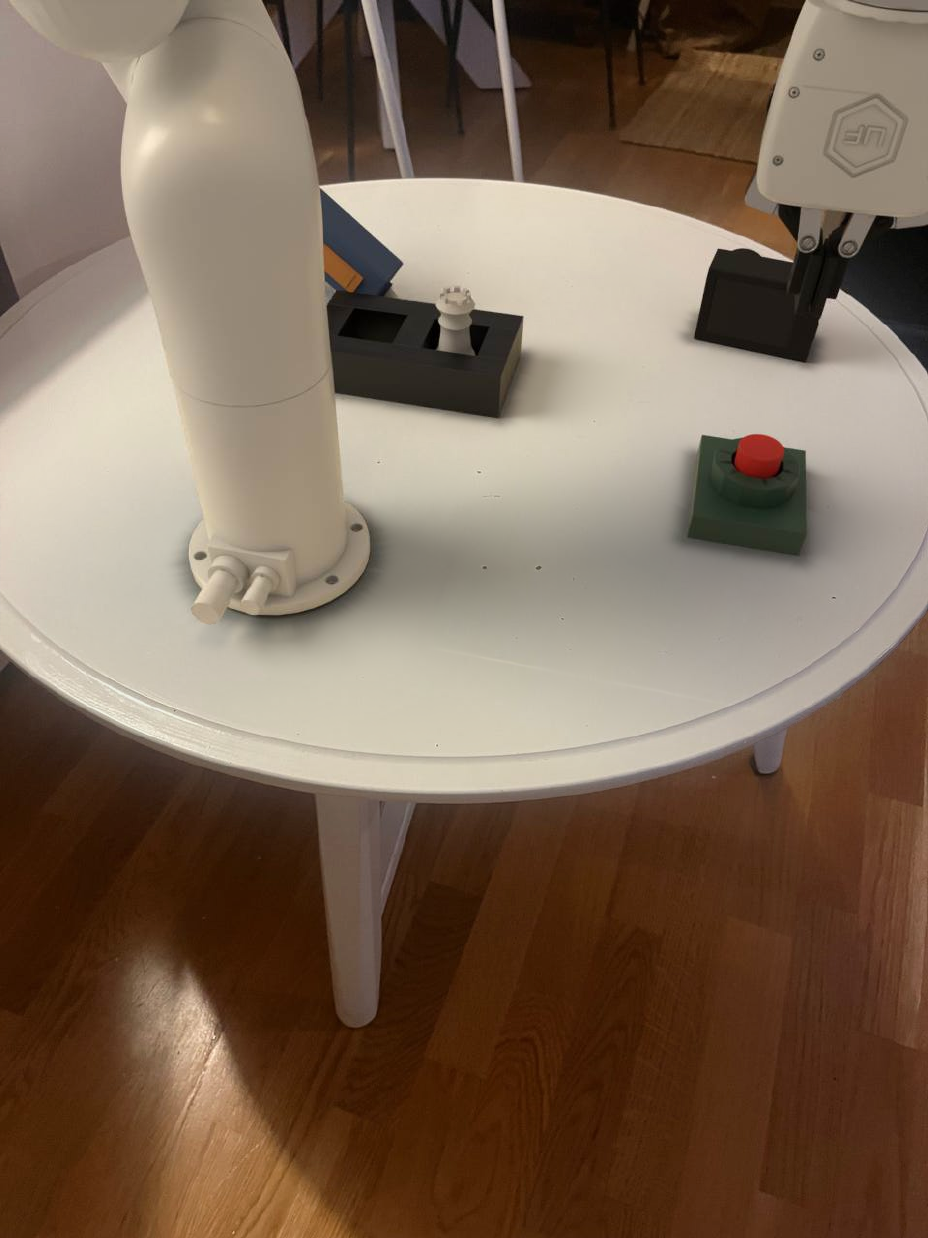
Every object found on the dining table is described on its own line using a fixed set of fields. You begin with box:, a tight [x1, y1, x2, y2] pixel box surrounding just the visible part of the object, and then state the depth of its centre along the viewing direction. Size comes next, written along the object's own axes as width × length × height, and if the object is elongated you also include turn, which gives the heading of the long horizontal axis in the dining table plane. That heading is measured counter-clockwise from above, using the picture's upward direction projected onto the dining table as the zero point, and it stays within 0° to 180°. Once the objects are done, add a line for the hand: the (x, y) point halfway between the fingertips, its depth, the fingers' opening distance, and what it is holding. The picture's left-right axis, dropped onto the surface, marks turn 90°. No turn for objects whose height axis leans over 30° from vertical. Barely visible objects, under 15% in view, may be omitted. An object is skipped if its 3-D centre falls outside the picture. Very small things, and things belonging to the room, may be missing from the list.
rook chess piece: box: [434, 285, 476, 356], centre depth 82 cm, size 4×4×8 cm
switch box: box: [686, 434, 808, 557], centre depth 73 cm, size 10×8×4 cm
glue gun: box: [319, 186, 404, 299], centre depth 91 cm, size 6×31×15 cm
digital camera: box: [693, 247, 822, 363], centre depth 88 cm, size 10×5×7 cm, turn 69°
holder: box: [326, 290, 524, 419], centre depth 84 cm, size 10×17×4 cm, turn 77°
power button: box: [734, 433, 784, 479], centre depth 71 cm, size 3×3×2 cm
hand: (807, 304), depth 62 cm, fingers closed
